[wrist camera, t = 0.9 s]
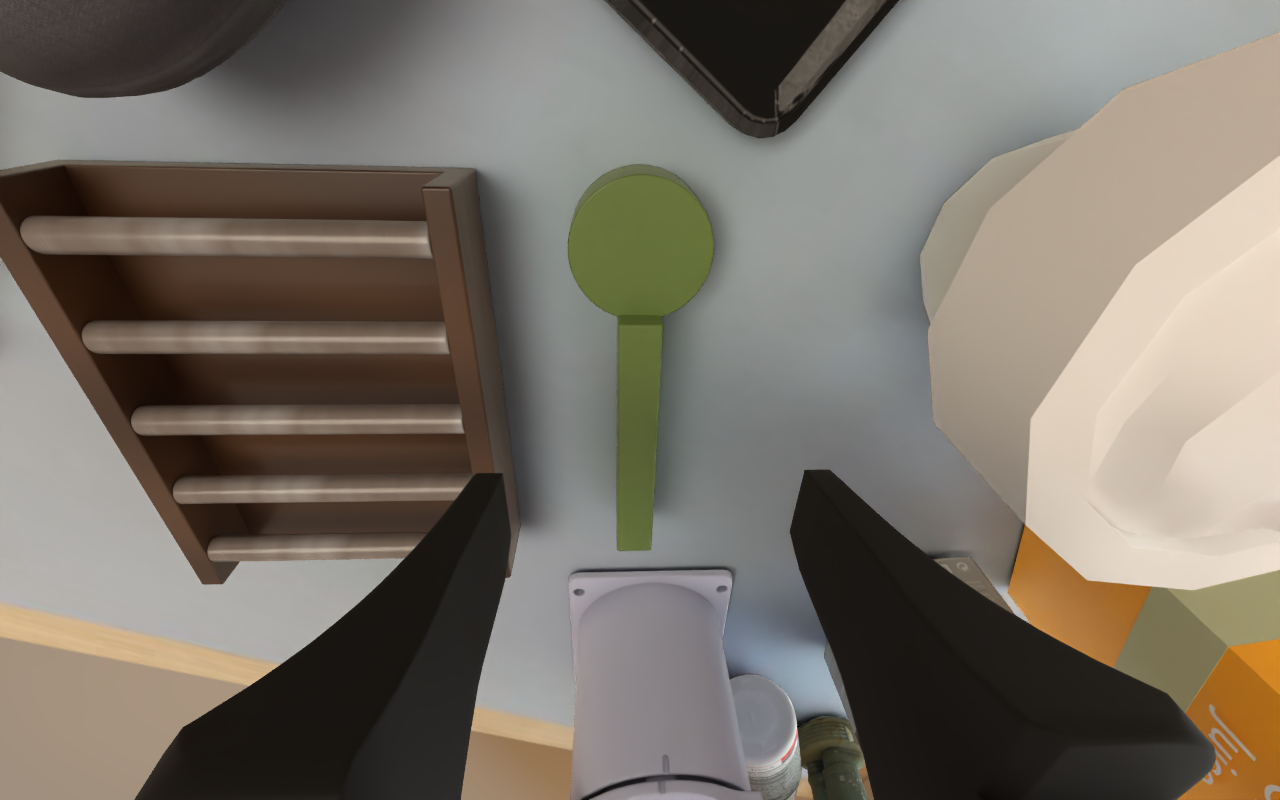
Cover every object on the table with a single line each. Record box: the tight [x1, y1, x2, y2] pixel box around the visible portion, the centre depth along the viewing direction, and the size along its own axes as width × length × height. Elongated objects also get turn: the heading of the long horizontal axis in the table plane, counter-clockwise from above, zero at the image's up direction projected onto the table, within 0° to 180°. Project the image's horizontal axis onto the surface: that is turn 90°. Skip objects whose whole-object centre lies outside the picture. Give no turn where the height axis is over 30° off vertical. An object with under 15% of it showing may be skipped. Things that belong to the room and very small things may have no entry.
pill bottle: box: [730, 674, 801, 800], centre depth 31 cm, size 5×5×8 cm
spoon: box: [568, 164, 714, 551], centre depth 19 cm, size 14×4×3 cm, turn 179°
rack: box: [0, 160, 521, 584], centre depth 19 cm, size 15×12×3 cm
